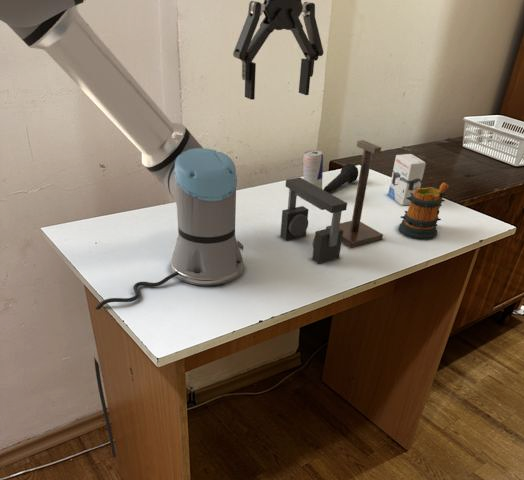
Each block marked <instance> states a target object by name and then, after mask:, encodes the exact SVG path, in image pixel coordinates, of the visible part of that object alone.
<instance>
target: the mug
mask: <svg viewBox="0 0 524 480" xmlns="http://www.w3.org/2000/svg"><path fill="white" fill-rule="evenodd" d="M449 187H450V185H449V184H448V183H446V182H442V183H441V184H440V185H439V188H435V187H433V186H429V187H420V188H418V189H417V188H416V189H415V191H414V193H410V194H411V197H407V198H406V199H408V200H410V201H411V203H410V205H408V209H407V210H404V214H403V215H400V218H401V219H402V220H401V223H399V226H398V230H397V231H398V232H399V234H401V235H402V236H403V237H407V238H410V239H412V240H419V241H429V240H433V239H435V238H436V237H437V235H438V234H437V233H438V229H437V227H438V222H439V221H441V220H442V218H439V214H440V208H441V207H442V206H443V205H442V202H445V199H443V198H444V197H445V194H446V190H448V188H449Z"/></svg>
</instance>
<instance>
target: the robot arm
mask: <svg viewBox="0 0 524 480" xmlns="http://www.w3.org/2000/svg"><path fill="white" fill-rule="evenodd" d="M86 1H87V0H0V21H1V22H2V23H5V24H6V25H7V26H8V27H9V28H10V29H11V30H12V31H13V32H14V33H15V34H16V36H18V38H19V39H20V40H21V41H23V42H24V44H26V46H28V48H29V49H37V50H43V51H44V52H45V53H47V55H48V56H49V57H50V58H51V59H52V60H53V61H54V63H56V64H57V65H58V67H60V69H62V71H63V72H65V74H66V75H67V76H68V77H69V78H70V79H71V80H72V81H73V82H74V83H75V84H76V85H77V86H78V87H79V89H81V90H82V91H83V93H84V94H85V95H86V96H87V97H88V98H89V99H90V100H91V101H92V102H93V103H94V104H95V105H96V106H97V107H98V109H100V110H101V111H102V112H103V114H104V115H105V116H106V117H107V118H108V119H109V120H110V121H111V122H112V123H113V124H114V125H115V126H116V128H118V129H119V130H120V131H121V132H122V134H123V135H124V136H125V137H126V138H127V139H128V140H129V141H130V142H131V143H132V144H133V145H134V146H135V147H136V148H137V149H138V151H139V152H141V163H142V165H143V166H144V168H146V170H147V171H149V173H150V174H152V176H153V177H154V178H155V179H156V180H157V181H158V182H159V183H160V184H161V185H162V186H163V187H164V188H165V190H166V191H167V192H168V193H169V195H170V196H171V198H172V200H173V201H174V202H175V204H176V215H177V232H178V233H177V239H176V242H175V246H174V248H173V252H172V256H171V260H170V263H171V264H170V265H171V272H172V273H171V274H169V275H167V276H166V277H164V278H163V279H161V280H160V281H157V282H149V281H138V282H136V283H134V284H133V287H132V288H133V291H134V296H131V297H125V298H124V297H109V298H106V299H103V300H102V301H100V302H99V303H98V304H97V305H96V307H95V308H94V309H95V310H100V309H101V308H102V307H104V306H105V305H107V304H110V303H131V302H134V301H137V300H138V299H139V298H140V292H139V289H138V288H139V287H141V286H144V287H159V286H162V285H164V284H165V283H167V282H169V281H170V280H172V279H173V278H177V279H179V280H180V281H182V282H183V283H184V282H185V283H187V284H190V285H194V286H203V287H210V286H211V287H212V286H213V287H214V286H221V285H224V284H228V283H230V282H233V281H235V280H236V279H238V278H239V277H241V275H242V273H243V270H244V259H243V256H242V252H244V245H243V244H242V243H241V242H240V241H239V240H237V236H236V211H237V210H236V209H237V208H236V207H237V186H238V175H237V168H236V164H235V162H234V161H233V159H232V157H230V156H229V155H228V154H226V153H224V152H221V151H217V150H215V149H212V148H204V147H203V146H202V145H201V144H200V142H199V141H198V140H197V139H196V137H194V135H193V134H192V133H191V132H190V130H189V129H188V128H187V127H186V126H185V124H183V123H182V122H172V121H171V120H170V119H169V117H168V116H167V115H166V114H165V112H163V110H162V109H161V108H160V107H159V105H158V104H157V103H156V102H155V100H153V98H152V97H151V96H150V95H149V94H148V93H147V92H146V91H145V89H144V88H143V87H142V86H141V84H140V83H139V82H138V81H137V80H136V78H134V76H133V75H132V73H130V72H129V70H128V69H127V68H126V67H125V65H124V64H123V63H122V62H121V61H120V60H119V59H118V57H116V55H115V54H114V53H113V52H112V50H111V48H109V46H107V44H106V43H105V42H104V40H102V38H101V37H100V36H99V35H98V34H97V32H96V31H95V30H94V29H93V28H92V27H91V26H90V24H89V23H88V22H87V21H86V20H85V19H84V17H83V16H82V15H81V14H80V12H79V7H78V5H80V4H84V3H85V2H86ZM262 15H264V17H263V19H262V21H261V22H260V24H259V21H260V17H261V16H262ZM301 15H302V19H303V23H304V24H303V23H302V22H301V19H300V16H301ZM258 24H259V28H258V29H257V26H258ZM303 25H305V30H306V32H305V30H304V26H303ZM256 29H257V31H256ZM275 30H276V31H282V30H286V31H291V32H292V36H293V37H294V39H295V40H296V42H297V44H298V47H299V48H300V50H301V52H302V54H303V56H304V58H301V59H300V69H299V70H300V71H299V72H300V73H299V84H298V93H299V94H302V95H304V96H309V95H310V85H311V78H312V77H313V76H314V70H315V69H314V68H315V62H316V61H318V59H319V57H323V55H324V48H323V44H322V39H321V35H320V31H319V27H318V23H317V20H316V4H315V2H309V1H304V2H302V0H264V1H263V3H261V2H260V1H256V0H250V1H249V3H248V12H247V16H246V19H245V21H244V24H243V26H242V29H241V32H240V34H239V37H238V39H237V42H236V45H235V47H234V50H233V52H232V56H233V57H234V58H236V59H238V60H240V61H241V78H242V80H243V81H244V98H246V99H249V100H255V98H256V97H255V95H256V69H257V68H256V67H257V63H256V62H253V61H254V59H255V58H256V56H257V54H258V53H259V51H260V50H261V48H262V47H263V45H264V43H266V41H267V39H268V38H269V36H270V34H272V33H273V32H274V31H275ZM255 32H256V33H255ZM306 34H307V35H306ZM241 251H242V252H241ZM93 361H94V370H95V376H96V383H97V389H98V393H99V394H98V395H99V398H100V403H101V407H102V412H103V416H104V421H105V426H106V429H107V434H108V439H109V444H110V450H111V455H112V458H116V457H117V454H116V447H115V442H114V437H113V433H112V432H113V431H112V427H111V423H110V418H109V414H108V409H107V405H106V399H105V395H104V390H103V383H102V378H101V370H100V364H99V363H98V361H97V359H96V357H95V356H94V357H93Z"/></svg>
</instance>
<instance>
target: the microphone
mask: <svg viewBox="0 0 524 480" xmlns="http://www.w3.org/2000/svg"><path fill="white" fill-rule="evenodd" d="M358 178H359V169H358V167H357V166H356V165H355V164H350V163H347V164H344V165H343V166H342V167H341V169H340V173H339V174H338V175H337V176H336V177H334V178H333V179H332V180H331V181H330V182H329V183H327V184H326V185H325V186H324V188H322V190H324V191H326V192H328V193H330V194H332V193H333V192H335V191H336V190H337V189H339V188H341V187H342V186H344V185H345V184H346V183H347V184H348V183H349V184H351V183H354V182H356V181H357V179H358Z"/></svg>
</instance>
